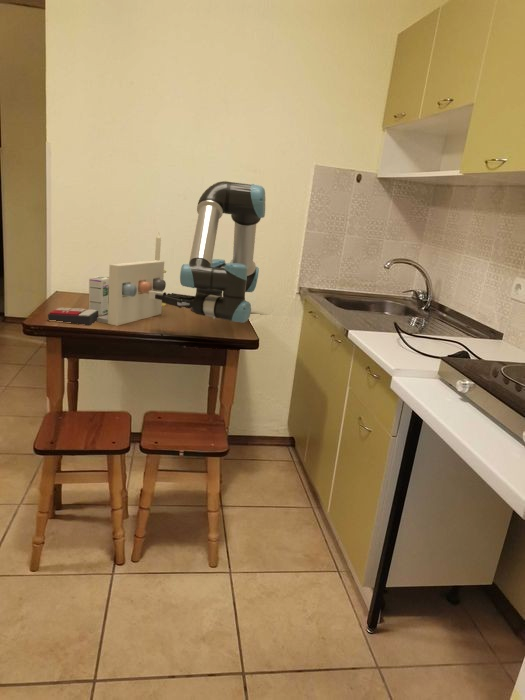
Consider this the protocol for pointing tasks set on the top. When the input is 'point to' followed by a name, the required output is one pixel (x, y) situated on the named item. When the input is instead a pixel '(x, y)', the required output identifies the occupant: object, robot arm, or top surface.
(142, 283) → the terracotta button
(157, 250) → the candle
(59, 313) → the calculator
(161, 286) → the charcoal button
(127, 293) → the slate blue button
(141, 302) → the control panel
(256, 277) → the robot arm
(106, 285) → the syrup box
